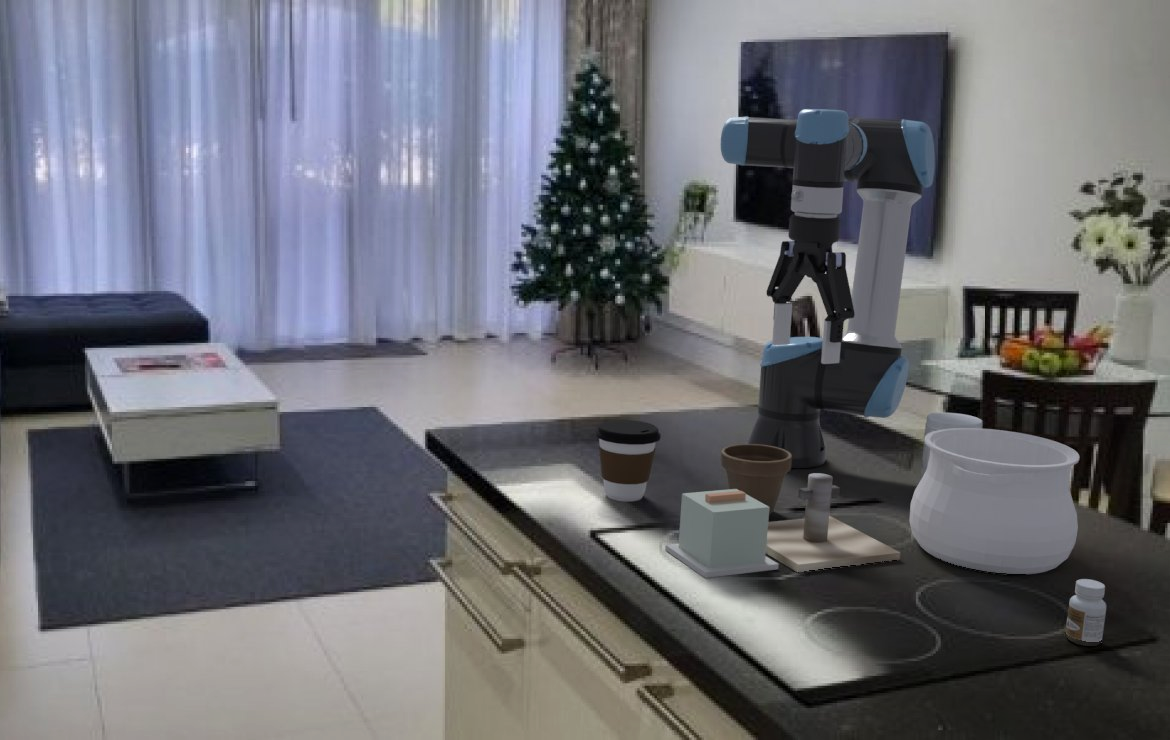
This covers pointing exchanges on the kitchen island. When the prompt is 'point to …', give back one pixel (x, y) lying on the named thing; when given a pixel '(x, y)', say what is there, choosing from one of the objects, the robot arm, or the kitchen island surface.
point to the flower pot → (756, 470)
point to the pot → (996, 501)
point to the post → (822, 535)
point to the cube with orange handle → (723, 527)
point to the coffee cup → (626, 457)
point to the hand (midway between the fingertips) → (804, 353)
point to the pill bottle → (1087, 611)
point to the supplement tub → (945, 422)
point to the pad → (719, 571)
